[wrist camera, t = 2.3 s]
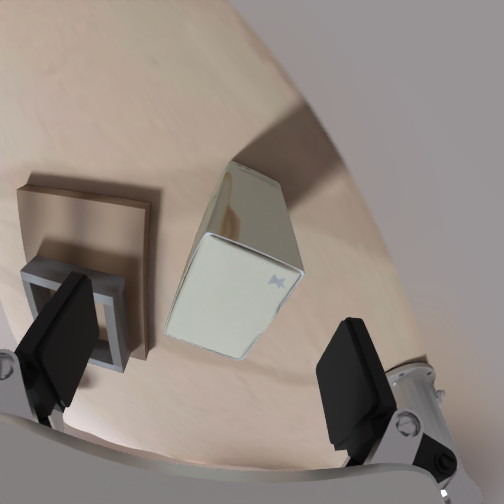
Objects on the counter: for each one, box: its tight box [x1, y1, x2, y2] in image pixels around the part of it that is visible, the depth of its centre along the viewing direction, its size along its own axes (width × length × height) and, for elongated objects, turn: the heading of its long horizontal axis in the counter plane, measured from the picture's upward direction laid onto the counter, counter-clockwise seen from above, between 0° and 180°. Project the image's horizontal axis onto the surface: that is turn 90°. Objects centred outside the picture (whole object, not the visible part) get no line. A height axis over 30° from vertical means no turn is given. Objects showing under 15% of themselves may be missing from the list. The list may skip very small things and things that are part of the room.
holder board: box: [17, 185, 151, 373], centre depth 24 cm, size 14×18×4 cm
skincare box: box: [164, 161, 305, 360], centre depth 17 cm, size 6×4×12 cm
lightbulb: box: [50, 409, 64, 432], centre depth 32 cm, size 6×6×11 cm
